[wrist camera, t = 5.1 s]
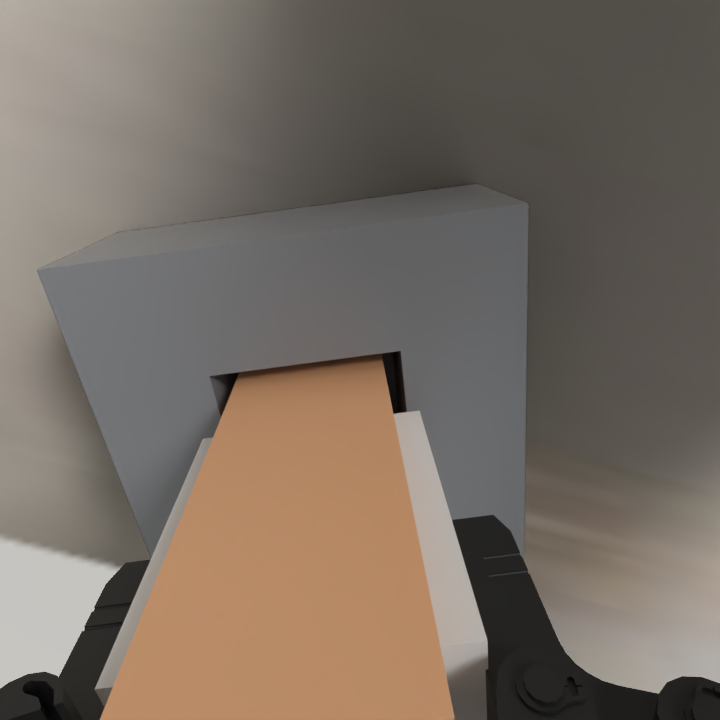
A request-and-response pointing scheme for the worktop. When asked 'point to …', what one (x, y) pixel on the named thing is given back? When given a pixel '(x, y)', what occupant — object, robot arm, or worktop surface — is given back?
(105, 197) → the worktop surface
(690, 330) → the worktop surface
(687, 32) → the worktop surface
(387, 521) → the plug
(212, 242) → the grey square socket block
